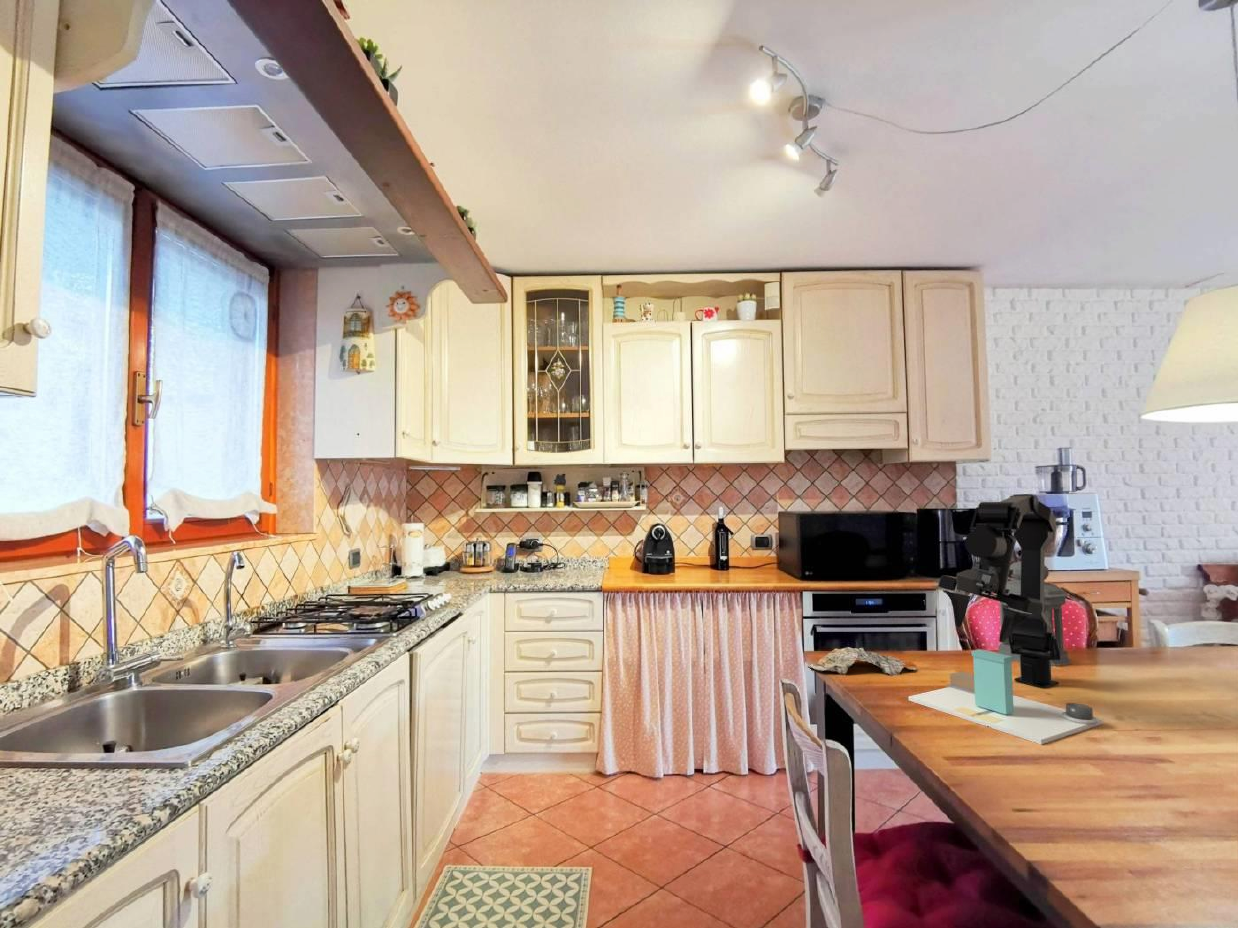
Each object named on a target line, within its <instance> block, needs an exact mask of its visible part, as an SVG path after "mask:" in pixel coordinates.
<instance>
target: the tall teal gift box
mask: <svg viewBox="0 0 1238 928" xmlns="http://www.w3.org/2000/svg"><path fill="white" fill-rule="evenodd" d="M971 656H972V658H973V659H972V661H973V675H974V685H975V705H976V706H980V707H983V708H986V709H989V710H993V711H996V712H999V713H1003V714H1010V713H1013V712H1014V706H1013V695H1014V689H1013V672H1012V671H1013V669H1012V665H1013V664H1012V663H1013V656H1008V655H1004V654H999V653H997V652H994V651H989V650H984V649H975V650H971Z"/></svg>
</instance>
